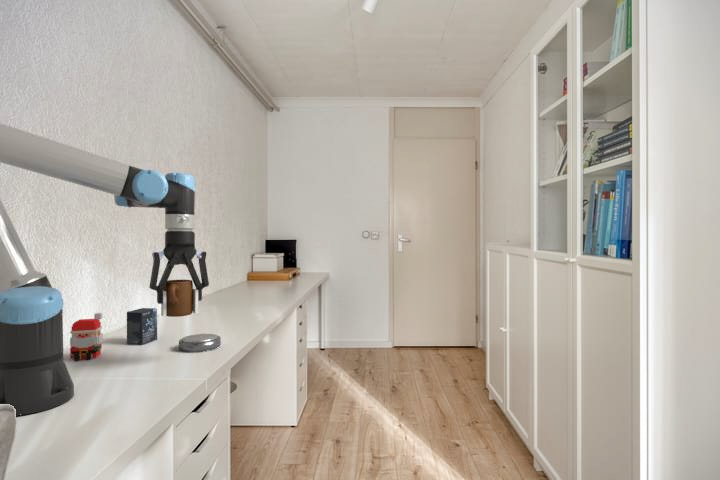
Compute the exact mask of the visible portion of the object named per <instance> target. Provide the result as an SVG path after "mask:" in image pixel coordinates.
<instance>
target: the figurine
mask: <svg viewBox="0 0 720 480" xmlns="http://www.w3.org/2000/svg"><path fill="white" fill-rule="evenodd" d="M93 316H94V317H93V318H84V319H78V320H76V321H75V322H73V323H72V326H71V330H70V334H71V337H69V342H70V343H69V351H70V353H69V357H70V359H72V360H74V362H78V361H81V360H86V361H88V360H89V361H90V360H93V359H96V358H97V357H99V355H101V353H102V351H101V350H102V347H103V344H102V343H103V332H102V331H101V330H102V329H103V326H102V325H101V324H102V323H101V320H102V319H103V312H95V313H94V315H93Z"/></svg>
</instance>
